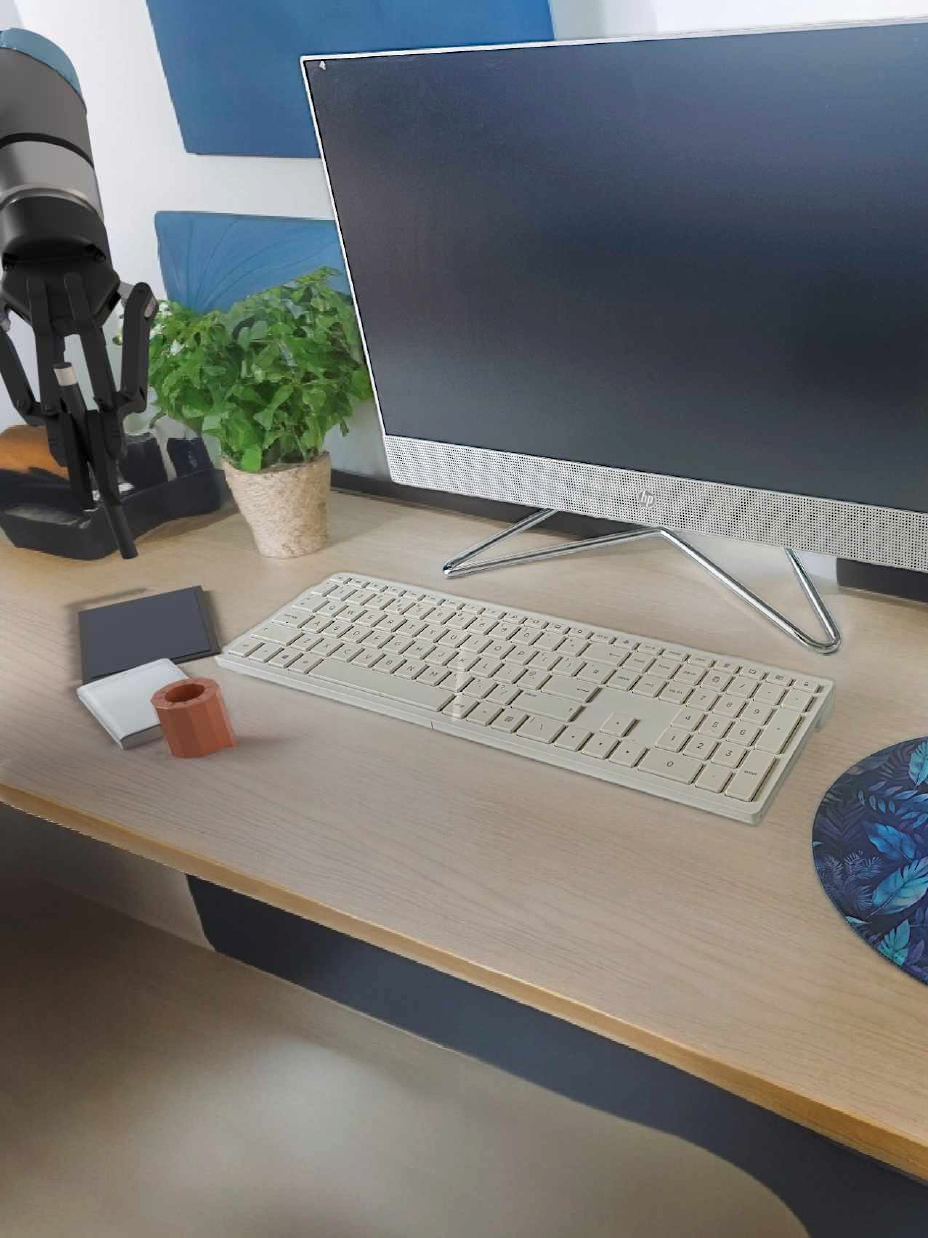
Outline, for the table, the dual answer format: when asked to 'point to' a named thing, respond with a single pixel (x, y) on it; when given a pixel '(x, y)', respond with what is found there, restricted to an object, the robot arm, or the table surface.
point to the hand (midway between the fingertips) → (97, 499)
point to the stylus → (79, 417)
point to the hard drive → (130, 701)
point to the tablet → (145, 633)
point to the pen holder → (193, 718)
